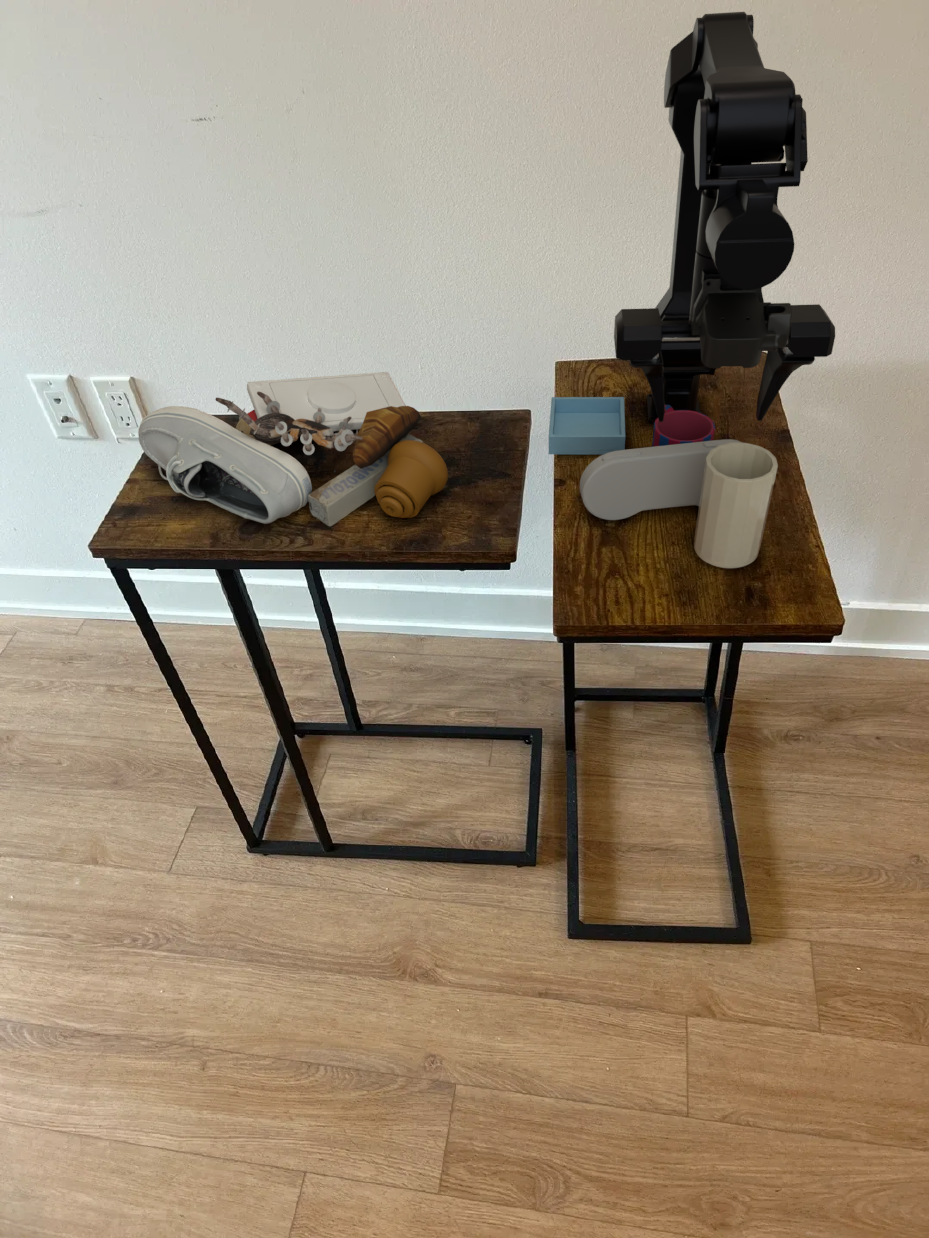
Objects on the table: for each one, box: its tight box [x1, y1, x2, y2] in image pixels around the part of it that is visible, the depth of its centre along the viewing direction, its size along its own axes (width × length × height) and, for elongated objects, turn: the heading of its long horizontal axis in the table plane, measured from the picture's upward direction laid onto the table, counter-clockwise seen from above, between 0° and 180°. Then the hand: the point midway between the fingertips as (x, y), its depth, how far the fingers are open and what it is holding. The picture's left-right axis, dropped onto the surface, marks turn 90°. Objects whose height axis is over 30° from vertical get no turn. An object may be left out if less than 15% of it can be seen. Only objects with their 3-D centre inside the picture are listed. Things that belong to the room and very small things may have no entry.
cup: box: [651, 405, 716, 447], centre depth 103 cm, size 7×10×7 cm
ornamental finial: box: [374, 440, 449, 519], centre depth 101 cm, size 8×8×8 cm
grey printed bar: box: [308, 432, 424, 527], centre depth 105 cm, size 4×16×5 cm
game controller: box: [579, 438, 743, 521], centre depth 97 cm, size 20×2×8 cm, turn 95°
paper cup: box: [693, 442, 779, 569], centre depth 90 cm, size 7×7×11 cm
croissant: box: [352, 405, 422, 469], centre depth 103 cm, size 14×7×5 cm
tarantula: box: [214, 391, 363, 456], centre depth 105 cm, size 16×18×5 cm
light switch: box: [246, 371, 407, 436], centre depth 115 cm, size 11×2×19 cm
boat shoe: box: [137, 405, 313, 525], centre depth 104 cm, size 25×9×8 cm
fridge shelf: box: [548, 396, 626, 456], centre depth 111 cm, size 9×9×3 cm
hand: (709, 419), depth 85 cm, fingers open, 9 cm apart
